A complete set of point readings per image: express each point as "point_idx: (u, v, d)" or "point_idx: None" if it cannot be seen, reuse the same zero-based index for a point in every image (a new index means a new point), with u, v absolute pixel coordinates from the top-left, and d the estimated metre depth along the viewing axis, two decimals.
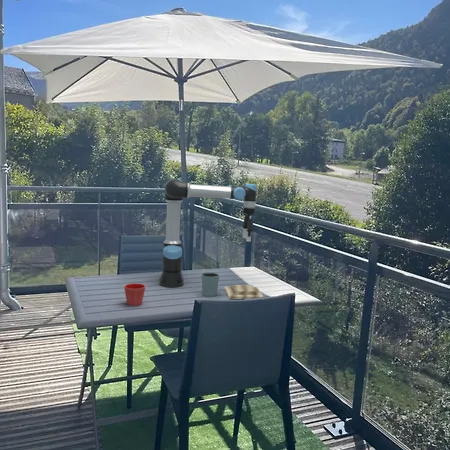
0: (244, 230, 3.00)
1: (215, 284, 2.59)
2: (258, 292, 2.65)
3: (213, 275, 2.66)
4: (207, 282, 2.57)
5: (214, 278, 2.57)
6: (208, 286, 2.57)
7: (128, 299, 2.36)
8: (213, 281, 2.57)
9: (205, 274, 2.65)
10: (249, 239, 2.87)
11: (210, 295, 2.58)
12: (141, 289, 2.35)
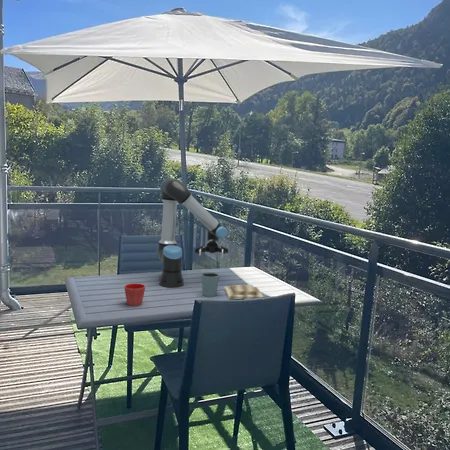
0: (200, 250, 2.75)
1: (215, 284, 2.59)
2: (258, 292, 2.65)
3: (213, 275, 2.66)
4: (207, 282, 2.57)
5: (214, 278, 2.57)
6: (208, 286, 2.57)
7: (128, 299, 2.36)
8: (213, 281, 2.57)
9: (205, 274, 2.65)
10: None
11: (210, 295, 2.58)
12: (141, 289, 2.35)
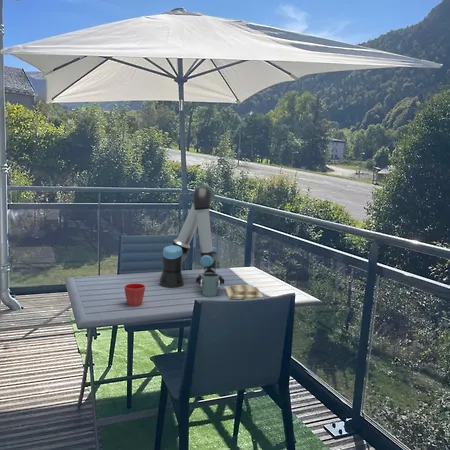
0: None
1: (215, 284, 2.59)
2: (258, 292, 2.65)
3: (213, 275, 2.66)
4: (207, 282, 2.57)
5: (214, 278, 2.57)
6: (208, 286, 2.57)
7: (128, 299, 2.36)
8: (213, 281, 2.57)
9: (205, 274, 2.65)
10: (219, 285, 2.59)
11: (210, 295, 2.58)
12: (141, 289, 2.35)
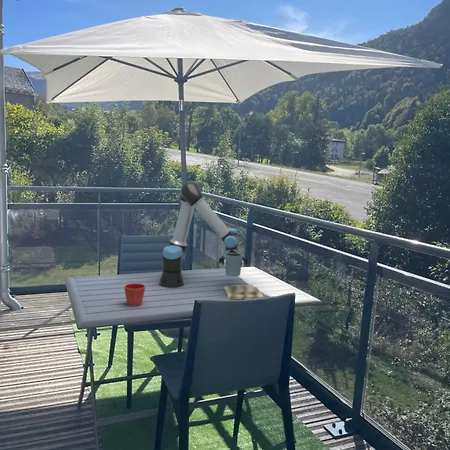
0: None
1: (239, 264, 2.58)
2: (258, 292, 2.65)
3: (236, 255, 2.65)
4: (231, 262, 2.56)
5: (238, 257, 2.56)
6: (232, 266, 2.57)
7: (128, 299, 2.36)
8: (237, 260, 2.56)
9: (228, 254, 2.64)
10: (243, 264, 2.58)
11: (234, 275, 2.58)
12: (141, 289, 2.35)
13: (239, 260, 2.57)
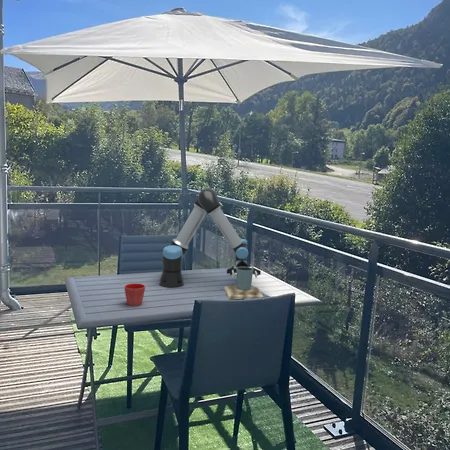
0: None
1: (250, 278, 2.61)
2: (258, 292, 2.65)
3: (247, 269, 2.68)
4: (242, 276, 2.59)
5: (249, 272, 2.59)
6: (243, 280, 2.60)
7: (128, 299, 2.36)
8: (248, 275, 2.59)
9: (239, 268, 2.67)
10: (256, 276, 2.62)
11: (245, 289, 2.61)
12: (141, 289, 2.35)
13: (250, 274, 2.60)
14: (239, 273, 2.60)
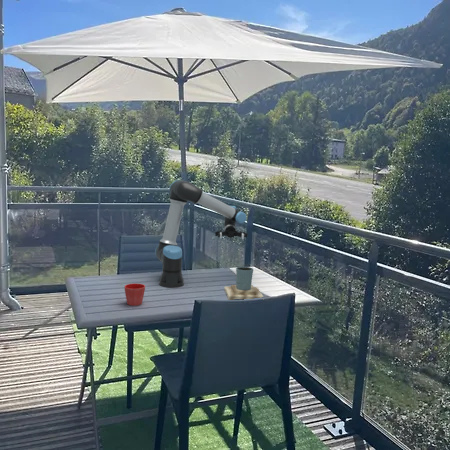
0: None
1: (249, 278, 2.61)
2: (258, 292, 2.65)
3: (247, 269, 2.68)
4: (242, 276, 2.59)
5: (249, 272, 2.59)
6: (243, 280, 2.60)
7: (128, 299, 2.36)
8: (248, 275, 2.59)
9: (239, 268, 2.67)
10: (243, 237, 2.76)
11: (245, 289, 2.61)
12: (141, 289, 2.35)
13: (250, 274, 2.60)
14: (239, 273, 2.60)
